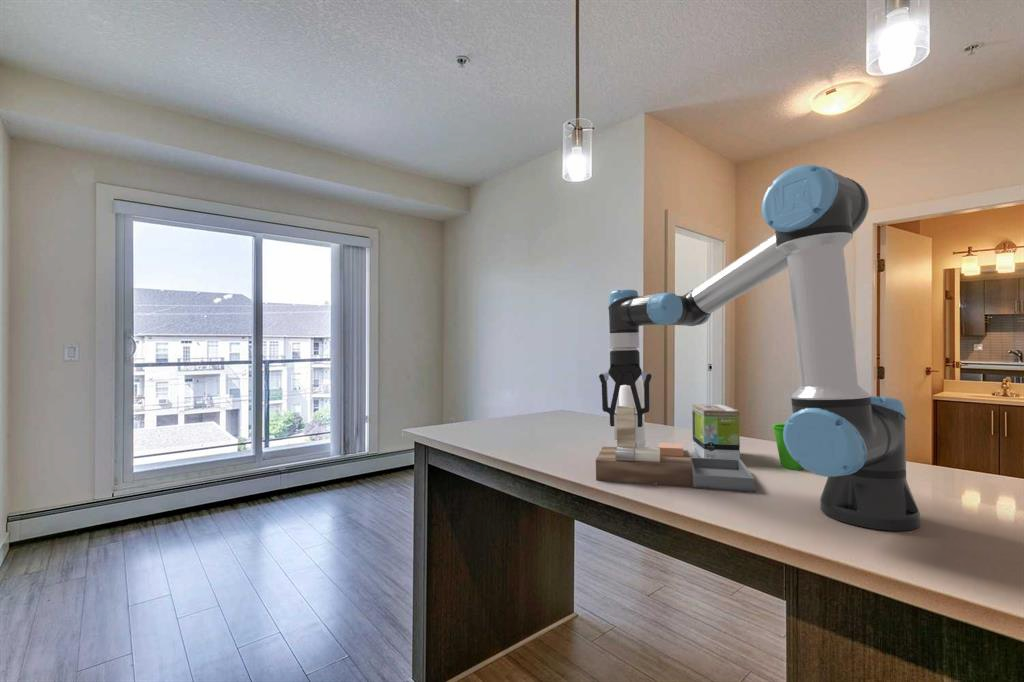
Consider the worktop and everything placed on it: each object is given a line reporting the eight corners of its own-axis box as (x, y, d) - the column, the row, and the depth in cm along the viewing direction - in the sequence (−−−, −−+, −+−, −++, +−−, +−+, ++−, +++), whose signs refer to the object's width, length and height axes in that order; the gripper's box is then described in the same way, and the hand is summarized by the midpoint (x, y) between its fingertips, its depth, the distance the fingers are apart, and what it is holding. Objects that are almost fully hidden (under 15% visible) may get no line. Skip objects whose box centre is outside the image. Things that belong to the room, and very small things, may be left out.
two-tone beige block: (634, 460, 114) (633, 411, 114) (615, 460, 115) (614, 411, 116) (636, 447, 129) (635, 403, 130) (620, 446, 131) (619, 403, 131)
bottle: (627, 445, 157) (625, 355, 157) (649, 448, 152) (647, 355, 152) (615, 449, 151) (613, 355, 151) (638, 452, 146) (636, 355, 146)
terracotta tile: (683, 456, 119) (683, 448, 119) (658, 455, 121) (658, 447, 121) (682, 451, 125) (682, 443, 125) (658, 450, 126) (658, 442, 126)
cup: (801, 463, 130) (800, 423, 130) (819, 472, 121) (818, 429, 121) (767, 463, 130) (766, 423, 131) (782, 471, 121) (781, 429, 122)
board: (692, 486, 110) (692, 465, 110) (596, 480, 117) (595, 459, 117) (688, 469, 126) (687, 450, 126) (603, 464, 132) (602, 446, 132)
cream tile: (659, 461, 114) (659, 453, 114) (634, 460, 116) (634, 452, 116) (659, 456, 120) (659, 448, 120) (635, 454, 121) (635, 447, 121)
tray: (755, 491, 106) (754, 478, 106) (693, 487, 109) (692, 474, 109) (741, 471, 123) (741, 459, 123) (688, 468, 127) (687, 457, 127)
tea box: (741, 463, 131) (740, 410, 131) (703, 462, 133) (702, 409, 133) (725, 451, 146) (724, 403, 146) (691, 450, 148) (690, 403, 148)
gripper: (659, 348, 124) (661, 437, 124) (592, 350, 129) (594, 435, 129) (659, 349, 117) (661, 443, 116) (588, 350, 122) (590, 440, 121)
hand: (626, 439), depth 122 cm, fingers closed on two-tone beige block, 4 cm apart
